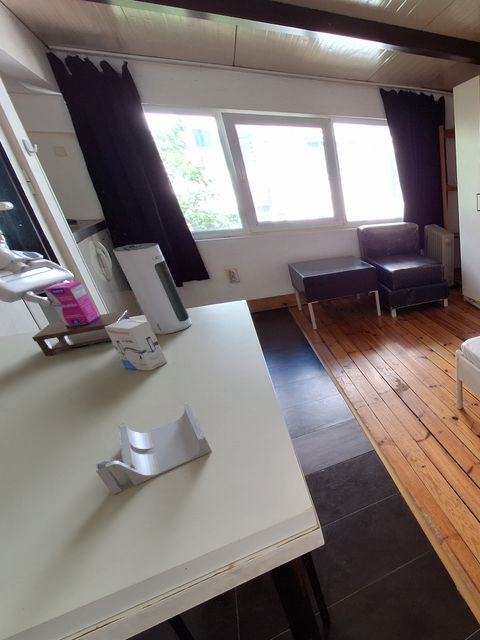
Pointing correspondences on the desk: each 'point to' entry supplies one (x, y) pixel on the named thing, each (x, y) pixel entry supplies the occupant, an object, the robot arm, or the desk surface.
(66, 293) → the supplement box
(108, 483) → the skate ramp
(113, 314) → the rack
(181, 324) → the speaker
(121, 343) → the ink box
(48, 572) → the desk surface
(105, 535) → the desk surface
